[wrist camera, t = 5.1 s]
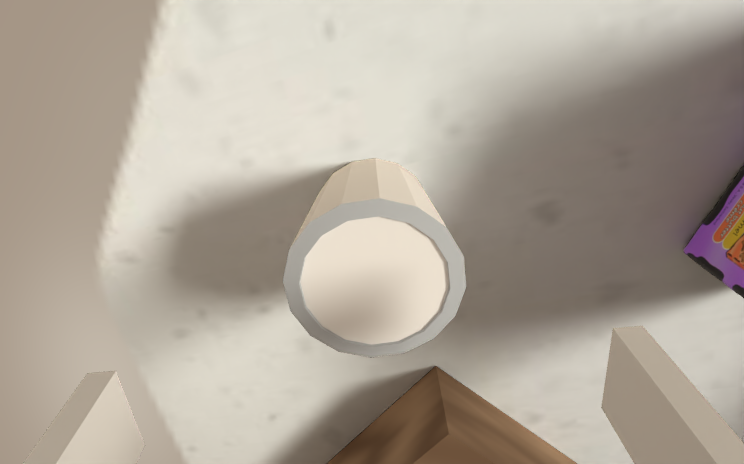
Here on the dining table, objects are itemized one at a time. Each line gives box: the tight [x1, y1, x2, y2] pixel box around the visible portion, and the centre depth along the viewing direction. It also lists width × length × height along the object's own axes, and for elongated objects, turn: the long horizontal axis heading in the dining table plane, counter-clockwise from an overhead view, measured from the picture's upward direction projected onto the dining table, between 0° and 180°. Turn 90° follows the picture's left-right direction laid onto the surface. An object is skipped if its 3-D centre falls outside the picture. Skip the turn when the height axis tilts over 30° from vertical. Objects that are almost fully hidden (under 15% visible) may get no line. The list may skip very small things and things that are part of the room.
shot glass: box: [283, 158, 466, 358], centre depth 22 cm, size 7×7×7 cm
